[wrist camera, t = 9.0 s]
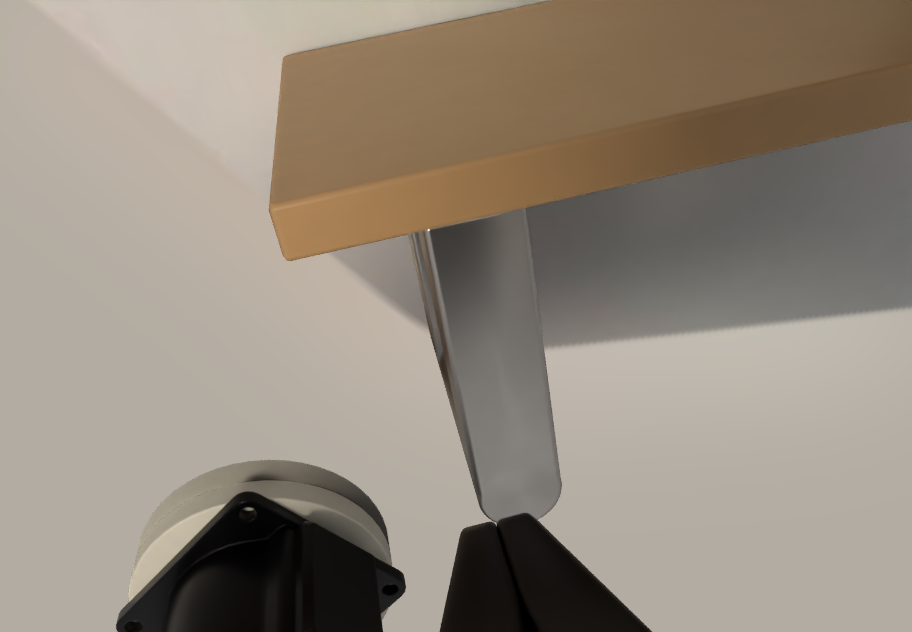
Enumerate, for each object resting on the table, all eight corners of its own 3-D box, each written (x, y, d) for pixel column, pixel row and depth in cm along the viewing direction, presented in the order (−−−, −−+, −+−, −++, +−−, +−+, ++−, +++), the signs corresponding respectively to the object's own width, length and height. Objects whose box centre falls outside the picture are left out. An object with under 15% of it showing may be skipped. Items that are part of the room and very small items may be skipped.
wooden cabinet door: (931, 169, 22) (1296, 338, 14) (349, 304, 21) (380, 573, 13) (971, -88, 18) (1484, -63, 10) (281, 55, 17) (266, 206, 9)
